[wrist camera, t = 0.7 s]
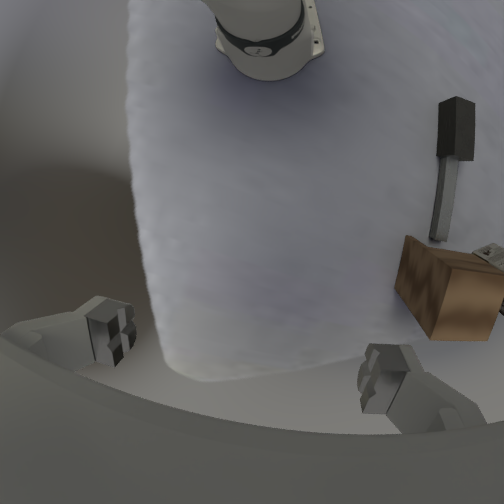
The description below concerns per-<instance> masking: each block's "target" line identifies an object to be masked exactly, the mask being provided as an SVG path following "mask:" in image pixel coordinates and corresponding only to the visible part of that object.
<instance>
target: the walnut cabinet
mask: <svg viewBox="0 0 504 504" xmlns="http://www.w3.org/2000/svg"><path fill="white" fill-rule="evenodd" d="M394 288H395V290H396V291H397V293H398V294H399V295H400V297H401V298H402V300H403V301H404V302H405V304H406V305H407V307H408V308H409V310H410V311H411V313H412V314H413V315H414V317H415V318H416V320H417V321H418V323H419V324H420V326H421V327H422V329H423V330H424V332H425V333H426V335H427V336H428V338H429V339H430V340H440V341H487V340H488V338H489V336H490V333H491V331H492V329H493V326H494V323H495V321H496V318H497V315H498V312H499V310H500V307H501V304H502V301H503V298H504V273H503V272H502V271H500V270H499V269H497V268H495V267H494V266H492V265H491V264H489V263H487V262H486V261H484V260H482V259H481V258H479V257H477V256H476V255H474V254H468V253H462V252H456V251H450V250H444V249H438V248H432V247H427V246H426V245H424V244H423V243H421V242H420V241H418V240H417V239H415V238H414V237H412V236H408V235H406V237H405V242H404V247H403V252H402V257H401V261H400V266H399V270H398V275H397V279H396V283H395V287H394Z"/></svg>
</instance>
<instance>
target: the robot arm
mask: <svg viewBox="0 0 504 504" xmlns="http://www.w3.org/2000/svg"><path fill="white" fill-rule="evenodd" d="M201 1H203V2H204V3H205V4H206V5H207V6H208V7H209V8H210V10H211V11H212V12H213V13H214V15H215V19H216V22H217V25H218V27H217V28H216V29H215V32H216V35H217V40H216V43H215V45H216V48H217V49H218V50H219V51H220V52H222V53H223V54H225V55H227V56H228V57H229V58H230V60H231V61H232V63H233V64H234V66H235V67H236V68H237V69H238V70H239V71H240V72H242V73H243V74H245V75H246V76H248V77H251V78H254V79H257V80H263V81H275V80H280V79H284V78H287V77H290V76H292V75H294V74H295V73H297V72H298V71H299V70H301V69H302V68H303V67H304V65H305V64H306V63H307V62H308V61H309V60H311V59H313V58H316V57H318V56H320V55H322V54H323V53H324V50H325V49H324V43H323V38H322V33H321V28H320V24H319V19H318V15H317V11H316V6H315V2H314V0H201ZM314 42H318V43H319V44H315V43H314ZM134 317H135V312H134V307H133V306H132V305H131V304H128V303H124V302H120V301H117V300H113V299H109V298H106V297H102V296H95V297H94V298H92V299H91V300H89V301H88V302H87V303H85V304H84V305H83V306H81V307H80V308H78V309H77V310H76V311H74V312H73V313H72V312H66V313H62V314H57V315H52V316H47V317H42V318H37V319H32V320H28V321H23V322H18V323H16V324H15V325H13V326H12V327H10V328H9V329H7V330H6V331H4V332H3V333H2V334H0V504H504V421H500V422H495V423H490V424H487V422H486V421H485V418H484V416H483V415H482V413H481V411H480V409H479V407H478V405H477V404H476V403H474V402H473V401H471V400H470V399H468V398H467V397H465V396H464V395H462V394H461V393H459V392H458V391H456V390H455V389H453V388H452V387H450V386H449V385H447V384H446V383H444V382H443V381H441V380H440V379H438V378H437V377H435V376H433V375H432V374H431V373H429V372H424V369H423V367H422V365H421V363H420V361H419V359H418V357H417V355H416V353H415V352H414V350H413V348H412V346H410V345H394V344H372V343H369V345H368V347H367V349H366V352H365V356H366V361H365V362H363V363H362V364H361V366H360V369H359V372H358V379H357V386H358V391H359V392H360V393H362V396H361V398H360V402H361V408H362V413H368V414H386V416H387V417H388V418H389V419H390V421H391V422H392V423H393V424H394V425H395V426H396V427H397V428H398V429H399V431H400V432H401V433H402V434H386V435H357V434H332V433H331V434H330V433H317V432H304V431H295V430H285V429H278V428H271V427H264V426H257V425H251V424H245V423H239V422H234V421H229V420H223V419H219V418H214V417H210V416H206V415H201V414H197V413H193V412H189V411H185V410H181V409H178V408H173V407H170V406H167V405H163V404H160V403H156V402H153V401H150V400H147V399H144V398H141V397H138V396H135V395H132V394H129V393H126V392H123V391H120V390H118V389H115V388H112V387H109V386H107V385H104V384H102V383H99V382H96V381H94V380H92V379H89V378H87V377H84V376H82V375H79V374H77V373H75V371H77V370H79V369H81V368H84V367H86V366H88V365H90V364H92V363H95V361H97V362H100V363H102V364H105V365H108V366H112V367H116V366H117V364H118V363H119V362H120V361H121V360H122V359H123V358H124V356H123V353H124V352H127V351H129V350H130V349H131V348H132V347H133V346H134V343H135V340H136V334H137V332H136V326H135V325H134V323H133V321H132V320H133V318H134Z"/></svg>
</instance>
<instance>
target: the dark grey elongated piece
mask: <svg viewBox="0 0 504 504" xmlns="http://www.w3.org/2000/svg"><path fill="white" fill-rule="evenodd" d="M474 143H475V103H473V102H471V101H468V100H465V99H463V98H460V97H457V96H455V97H452V98H450V99H448V100H445V101H443V102H440V103H439V115H438V139H437V153H436V156H439V157H441V158H440V169H439V178H438V186H437V194H436V201H435V208H434V214H433V220H432V225H431V231H430V236H429V237H431V238H433V239H434V240H438V241H444V242H447V237H448V232H449V227H450V221H451V216H452V210H453V203H454V196H455V189H456V180H457V171H458V161H473V159H474Z"/></svg>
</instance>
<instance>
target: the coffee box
mask: <svg viewBox="0 0 504 504" xmlns="http://www.w3.org/2000/svg"><path fill="white" fill-rule="evenodd" d="M472 254H474V255H476V256H477V257H479V258H481V259H482V260H484V261H486V262H487V263H489V264H491V265H492V266H494V267H495V268H497V269H499V270H500V271H502V272H503V273H504V248H502V247H500V246H498V245H496V244H494V243H493V244H490V245H488V246H485V247H483V248H480V249H478V250H475V251H473V252H472ZM499 312H500V313H501V314H502V315H503V316H504V298H503V301H502V304H501V307H500V310H499Z"/></svg>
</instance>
